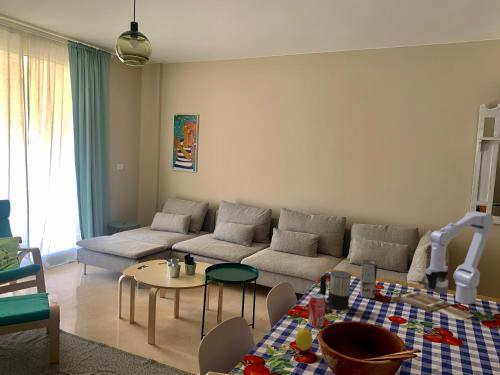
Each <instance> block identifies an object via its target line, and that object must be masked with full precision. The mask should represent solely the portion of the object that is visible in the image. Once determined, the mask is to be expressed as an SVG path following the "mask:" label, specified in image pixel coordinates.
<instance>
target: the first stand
mask: <svg viewBox="0 0 500 375" xmlns="http://www.w3.org/2000/svg"><path fill="white" fill-rule="evenodd" d="M436 312H439V313H441V314H444V315H445V316H449V317H450V318H451V317H452V318H454V319H457V320H460V321H464V320H467V319H469V318H471V317H474V316H476V314H473V313H471V312H467V311H465V310H462V309H459V308H456V307H453V306H452V305H451V306H447V307H444V308H441V309H438V310H436Z"/></svg>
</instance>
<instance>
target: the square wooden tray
mask: <svg viewBox="0 0 500 375" xmlns="http://www.w3.org/2000/svg"><path fill="white" fill-rule="evenodd" d="M392 300H393V301H392V302H394V303H399V302H402V303H404V304H406V305H410V306H412V307H416V308H418V309H420V310H422V311H425V312H427V313H431V312H434V311H437V310H440V309H443V308H446V307H449V306H451V307H452V306H453V303H451V302H448V301H445V300H444V299H441V298H440V297H439V298H438V297H437V296H433V295H430V294H427V293H424V292H421V291H412V292H409V293H405V294H401V295H396V296H394V297H393V299H392Z"/></svg>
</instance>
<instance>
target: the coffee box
mask: <svg viewBox="0 0 500 375" xmlns="http://www.w3.org/2000/svg"><path fill="white" fill-rule="evenodd" d="M377 270H378V264H377V262H376V260H374V259H373V260H371V259H370V260H369V259H361V272H360V287H359V292H360V296H361V297H362V298H369V299H375V295H376V284H377V283H376V282H377V272H378V271H377Z"/></svg>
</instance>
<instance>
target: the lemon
mask: <svg viewBox="0 0 500 375" xmlns="http://www.w3.org/2000/svg"><path fill="white" fill-rule="evenodd" d="M295 343H296V346H297V347H298V349H300V350H301V351H302V352H305V351H307V350H309V349H310V348H311V346H312V345H313V335H312V332H311V331H310V329H308V328H306V327H303V328H300V329H299V330H298V331H297V332H296V336H295Z"/></svg>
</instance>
